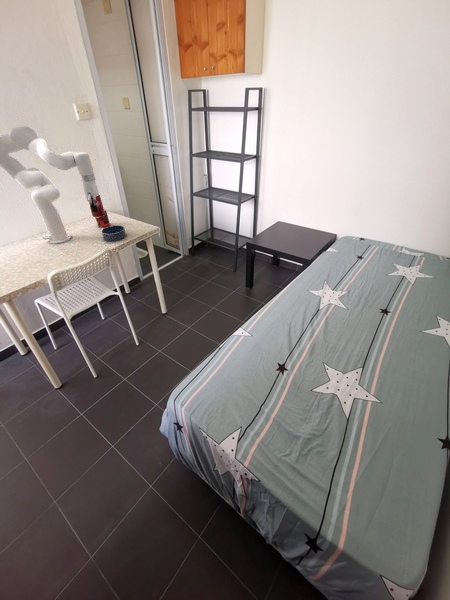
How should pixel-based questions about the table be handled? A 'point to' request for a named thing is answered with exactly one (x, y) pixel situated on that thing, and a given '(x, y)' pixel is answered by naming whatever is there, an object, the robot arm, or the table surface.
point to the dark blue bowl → (113, 233)
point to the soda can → (98, 207)
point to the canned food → (103, 220)
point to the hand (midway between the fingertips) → (97, 209)
